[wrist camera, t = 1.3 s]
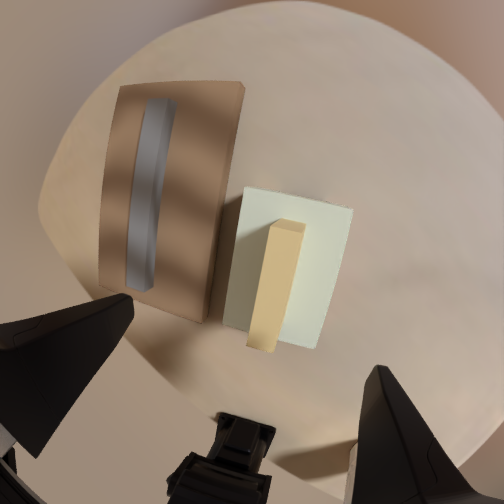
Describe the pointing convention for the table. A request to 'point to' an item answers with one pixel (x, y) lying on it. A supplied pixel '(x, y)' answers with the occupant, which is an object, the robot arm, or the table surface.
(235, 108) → the board
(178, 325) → the table surface
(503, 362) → the table surface
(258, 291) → the sage block
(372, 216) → the table surface
